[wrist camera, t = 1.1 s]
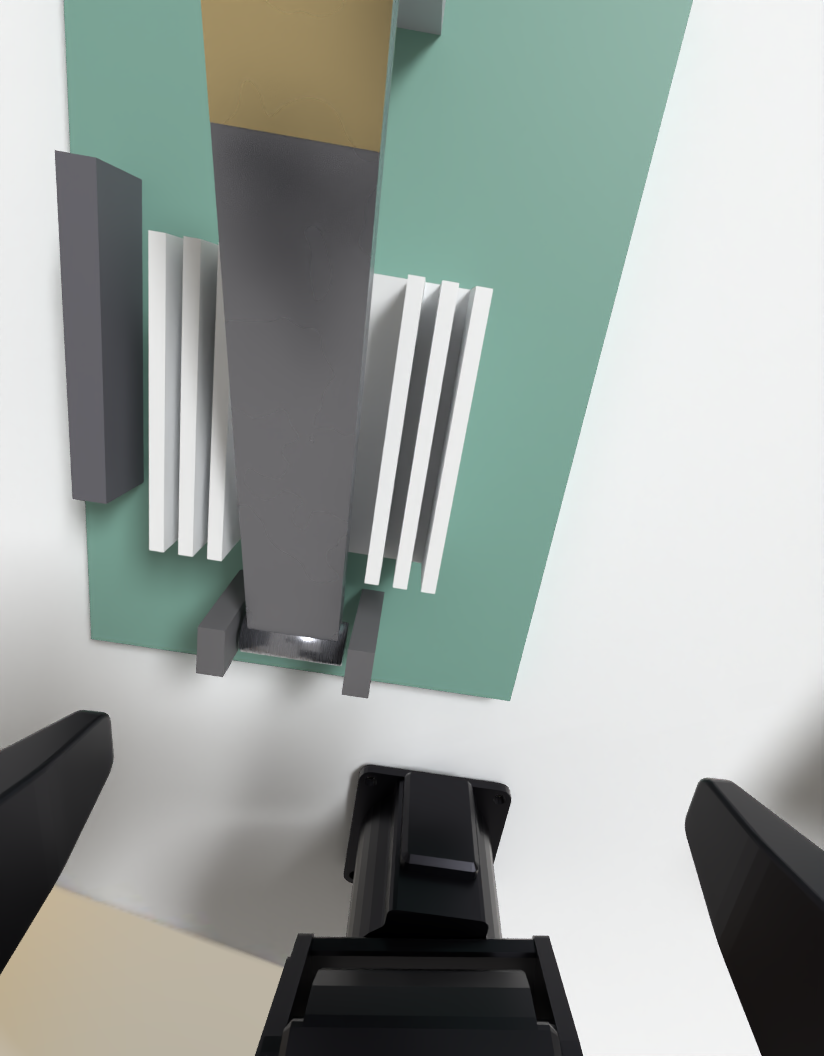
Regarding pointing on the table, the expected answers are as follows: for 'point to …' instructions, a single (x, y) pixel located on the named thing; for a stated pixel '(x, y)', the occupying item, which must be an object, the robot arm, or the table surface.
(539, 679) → the table surface
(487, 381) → the board
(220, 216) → the gold-tipped grey bar
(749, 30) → the table surface
